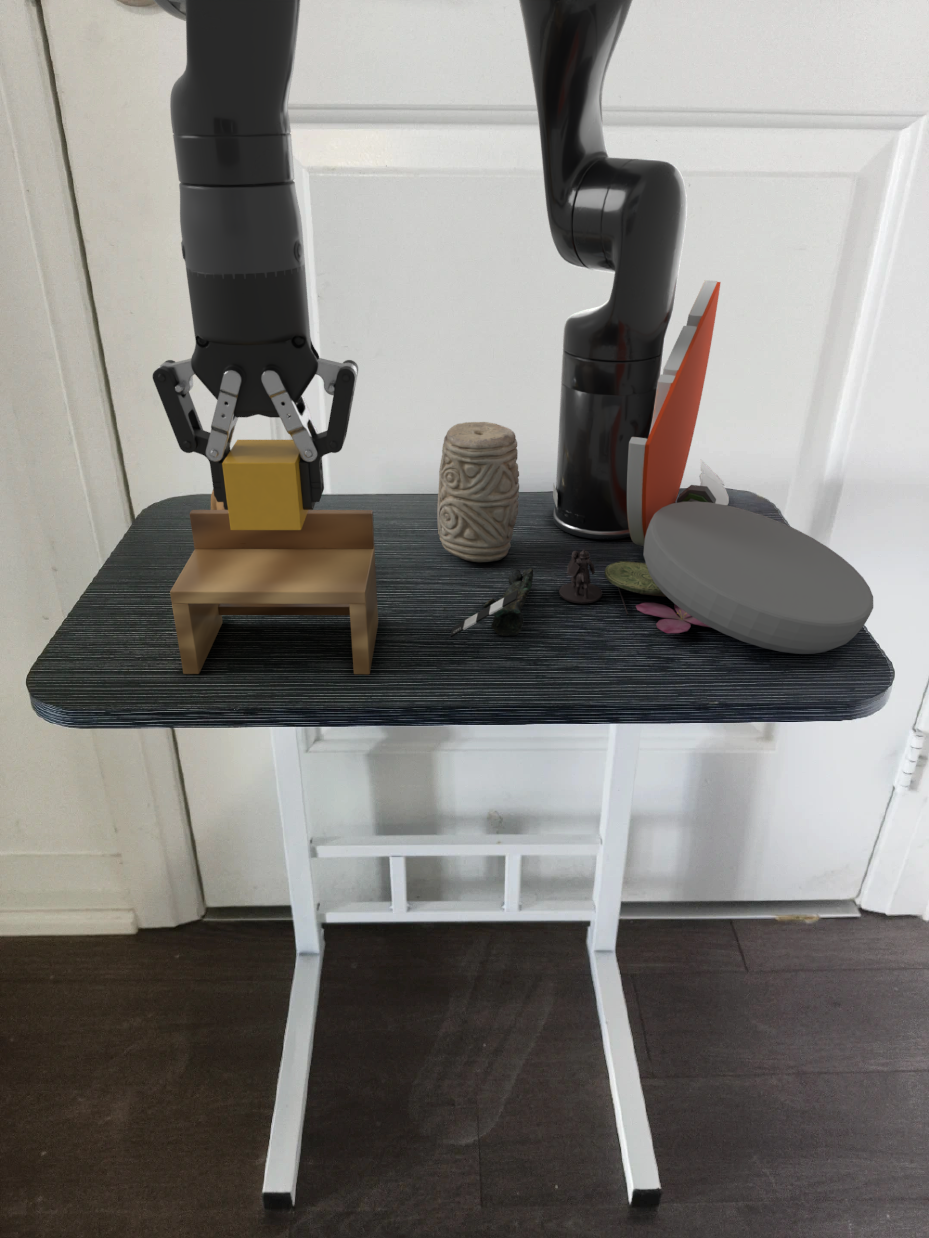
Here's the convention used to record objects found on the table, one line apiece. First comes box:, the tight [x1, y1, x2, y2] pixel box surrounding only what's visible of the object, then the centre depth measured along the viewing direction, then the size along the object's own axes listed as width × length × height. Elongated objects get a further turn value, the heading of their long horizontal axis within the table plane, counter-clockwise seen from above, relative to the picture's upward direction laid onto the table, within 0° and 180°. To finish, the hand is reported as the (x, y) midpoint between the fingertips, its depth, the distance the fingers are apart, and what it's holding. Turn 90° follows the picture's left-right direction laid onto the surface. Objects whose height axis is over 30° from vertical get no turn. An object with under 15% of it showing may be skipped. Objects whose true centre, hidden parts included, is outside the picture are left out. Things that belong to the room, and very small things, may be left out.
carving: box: [436, 421, 520, 563], centre depth 88 cm, size 6×8×12 cm
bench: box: [169, 509, 379, 675], centre depth 73 cm, size 14×8×10 cm, turn 90°
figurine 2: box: [558, 548, 629, 616], centre depth 83 cm, size 5×8×4 cm
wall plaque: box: [627, 279, 721, 547], centre depth 91 cm, size 19×2×30 cm
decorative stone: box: [643, 501, 874, 655], centre depth 78 cm, size 18×18×5 cm
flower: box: [635, 602, 713, 634], centre depth 79 cm, size 8×8×1 cm
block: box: [222, 439, 308, 530], centre depth 69 cm, size 5×5×5 cm
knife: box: [676, 459, 730, 506], centre depth 98 cm, size 22×4×5 cm
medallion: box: [603, 560, 667, 597], centre depth 84 cm, size 8×8×1 cm
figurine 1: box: [449, 567, 534, 638], centre depth 79 cm, size 6×4×12 cm
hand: (270, 505), depth 70 cm, fingers closed on block, 5 cm apart
